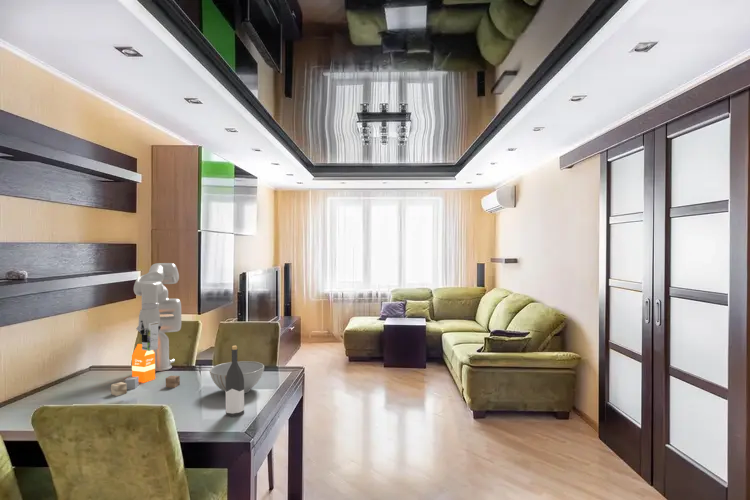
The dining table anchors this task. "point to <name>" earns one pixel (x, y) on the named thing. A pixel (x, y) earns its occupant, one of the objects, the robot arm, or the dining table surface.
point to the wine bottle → (234, 388)
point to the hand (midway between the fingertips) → (150, 340)
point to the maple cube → (119, 388)
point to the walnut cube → (172, 381)
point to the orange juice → (143, 364)
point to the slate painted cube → (132, 382)
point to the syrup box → (151, 337)
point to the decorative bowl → (249, 371)
